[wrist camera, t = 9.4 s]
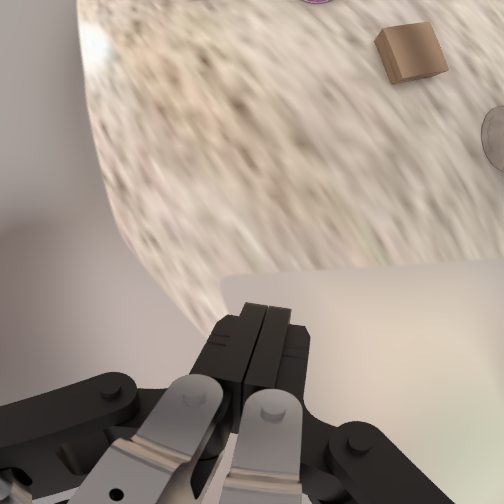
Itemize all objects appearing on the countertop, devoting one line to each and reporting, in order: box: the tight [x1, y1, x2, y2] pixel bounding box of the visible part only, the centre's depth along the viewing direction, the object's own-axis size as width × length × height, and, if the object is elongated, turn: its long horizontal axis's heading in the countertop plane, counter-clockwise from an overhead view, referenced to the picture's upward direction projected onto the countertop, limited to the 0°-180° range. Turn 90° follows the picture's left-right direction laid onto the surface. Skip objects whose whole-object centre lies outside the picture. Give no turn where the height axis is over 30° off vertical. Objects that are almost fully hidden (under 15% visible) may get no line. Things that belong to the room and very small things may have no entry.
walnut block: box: [374, 22, 449, 84], centre depth 28 cm, size 6×6×6 cm
